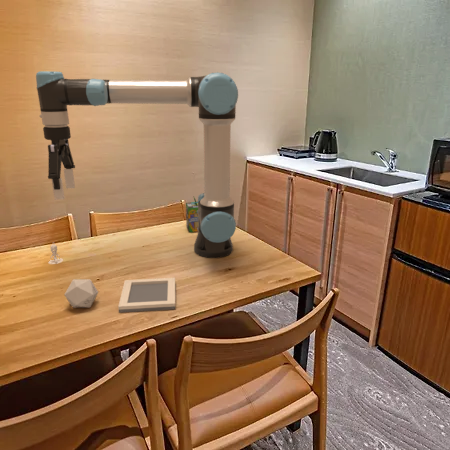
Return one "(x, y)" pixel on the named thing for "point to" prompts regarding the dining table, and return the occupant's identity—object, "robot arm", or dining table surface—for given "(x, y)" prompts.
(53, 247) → the toy figurine
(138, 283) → the pocket plate
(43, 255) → the dining table surface
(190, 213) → the chalk box
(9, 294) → the dining table surface
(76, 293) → the die
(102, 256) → the dining table surface
